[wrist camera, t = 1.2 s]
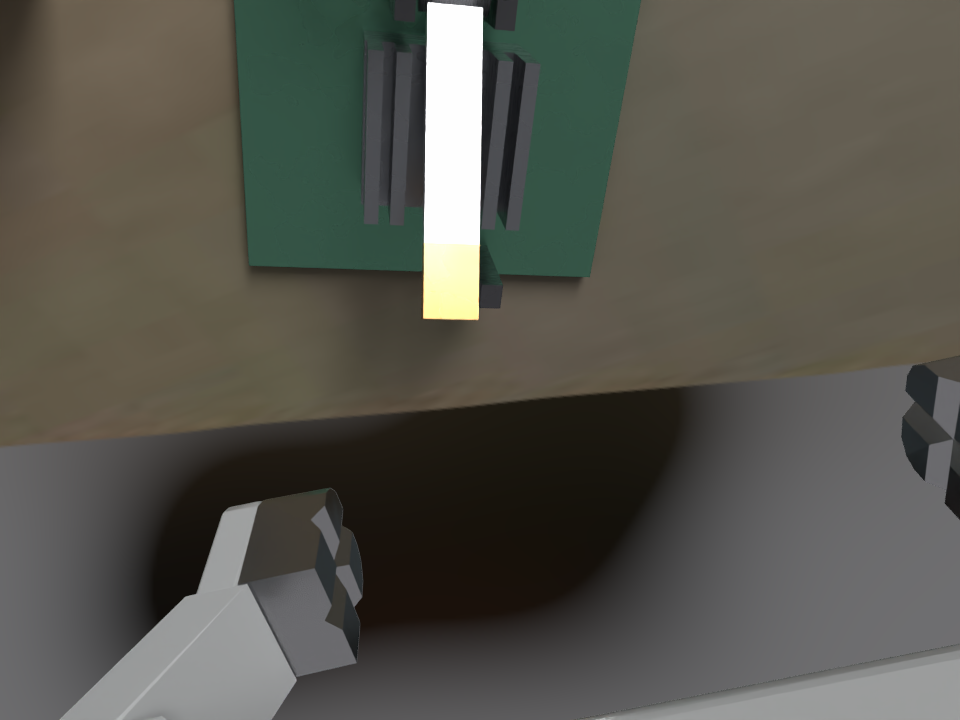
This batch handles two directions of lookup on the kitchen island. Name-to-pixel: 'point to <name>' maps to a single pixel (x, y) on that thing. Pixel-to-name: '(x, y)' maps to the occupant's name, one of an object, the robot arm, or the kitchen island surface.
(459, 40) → the white strip
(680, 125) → the kitchen island surface
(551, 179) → the circuit board
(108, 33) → the kitchen island surface
